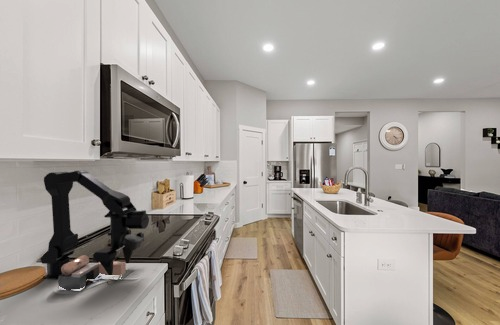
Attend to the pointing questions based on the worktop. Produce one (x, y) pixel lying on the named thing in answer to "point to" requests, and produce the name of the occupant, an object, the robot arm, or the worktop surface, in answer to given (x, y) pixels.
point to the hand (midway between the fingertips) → (119, 268)
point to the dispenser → (77, 273)
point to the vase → (110, 247)
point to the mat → (125, 274)
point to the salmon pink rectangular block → (114, 268)
